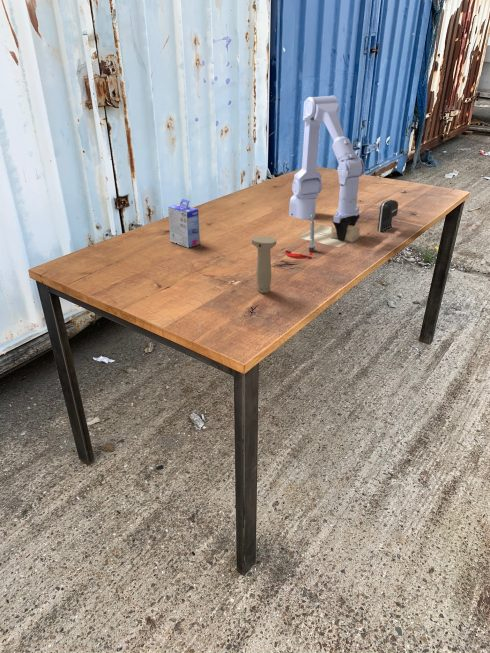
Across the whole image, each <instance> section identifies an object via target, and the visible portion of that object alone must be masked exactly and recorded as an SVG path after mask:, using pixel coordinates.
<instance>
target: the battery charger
mask: <svg viewBox="0 0 490 653" xmlns="http://www.w3.org/2000/svg"><path fill="white" fill-rule="evenodd" d="M398 210H399V202H398V201H397V200H394V199H387V200H384V201H383V202H382V203H381V204H380V207H379V213H378V221H377V222H378V223H377V224H378V226H377V232H379V233H382V234H384V233H386V232H388V231H390V230H391V229H393V226H392V224H393V222H392V221H393V218H394V217H395V216H398Z"/></svg>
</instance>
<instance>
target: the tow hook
mask: <svg viewBox="0 0 490 653" xmlns="http://www.w3.org/2000/svg"><path fill="white" fill-rule="evenodd" d="M314 219H315V218H314V216H313V215H311V219H310V223H309V226H310V241H309V248H308V252H309V254H308V255H309V256H308V255H305V254H301V253H299V254H297V253H292V251H289V250H285V255H286V256H287V257H289V258H293V259H302V258H303V259H304V258H308V259H313V257H312V256H313V253H315V251H316V244H315V243H316V242H315V239H314V228H315V220H314Z"/></svg>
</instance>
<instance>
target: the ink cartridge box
mask: <svg viewBox="0 0 490 653" xmlns="http://www.w3.org/2000/svg"><path fill="white" fill-rule="evenodd" d="M184 203H185V204H184ZM189 204H190V200H188V199H184V198H182V199H181V201H180V203H179V204H174V205H171V206H168V207H167V210H168V211H167V212H168V224H169V226H168V227H169V240H170V241H169V242H171V243H174V244H176V243H177V245H179V246H182V247H186V248H187V249H189V247H190V248H192V246H193V247H195V245H196V246H199V245H200V244H201V239H200V236H201V235H200V221H199V218H200V217H199V216H200V215H199V209H198V208H196V207H193V206H192V207H191V206H189ZM198 244H199V245H198Z"/></svg>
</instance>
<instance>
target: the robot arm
mask: <svg viewBox="0 0 490 653" xmlns="http://www.w3.org/2000/svg"><path fill="white" fill-rule="evenodd" d="M339 110H340V104H339V101H338V98H337V96H336V95H332V94H331V95H326V96H324V95H323V96H308V97H307V98H306V99H305V100H304V102H303V112H302V113H303V114H302V121H303V122H304V132H303V133H304V134H303V142H302V143H303V146H302V161H301V169H300V170H299V171H297V172H296V173H295V174H294V175H293V176H294V178H293V181H292V184H291V189H292V190H291V191H292V193H293V195H292V196H291V197H290V200H289V205H288V206H289V210H288V215H289V217H292V218H295V219H299V220H308V221H309V220H311V215H313V216H314V219H315V218H316V211H317V210H316V209H317V208H316V207H317V197H318V196H319V194H320V193H321V192H322V189H323V183H322V174H321V173H320V172H319V171H318V170H317V164H318V154H319V142H320V141H319V140H320V129H321V124H322V123H324V125H325V127H326V129H327V131H328V132H329V135H330V137H331V138H332V141H333V143H332V145H331V148H332V150H333V154H334V155H335V158H336V161H337V163H338V166H337V168H336V169H337V174H338V183H339V195H338V206H337V207H338V208H337V211H336V213H335V215H333V219H332V224H333V226H334V225H335V228H336V232H337V238H338V240H342V241H344V239H345V236H346V231H347V228H348V226H349V225H350V226H355V227H356V224H357V222H358V220H359V218H360V205H357V203H358V192H359V184H360V177H362V175H363V174H364V171H365V165H364V160H363V159H362V158H361V157H359V155H357V154H356V152H355V151H354V147H353V145H352V142H351V140H350V139H349V137H346V136H345V135H344V132H343V128H342V124H341V121H340V119H339V118H340V117H339Z"/></svg>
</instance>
